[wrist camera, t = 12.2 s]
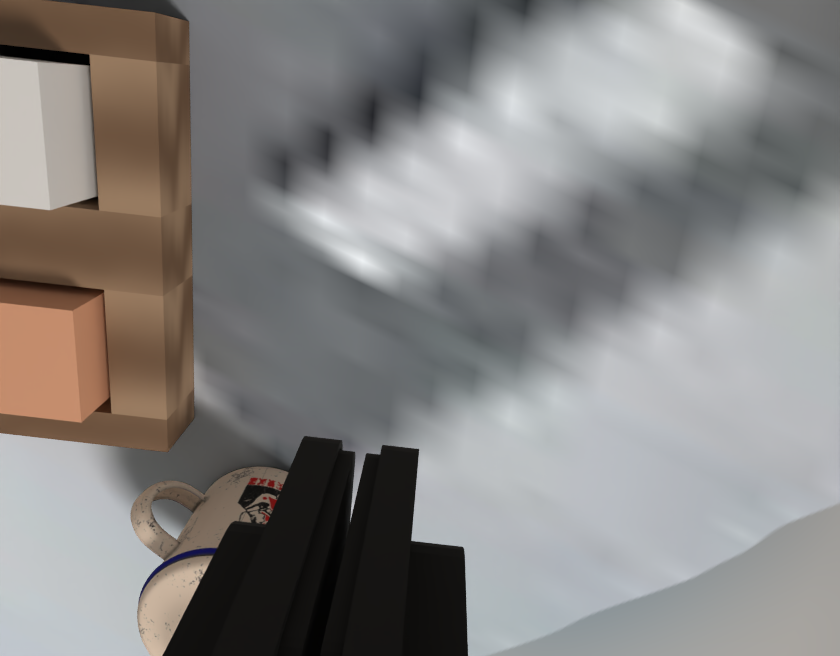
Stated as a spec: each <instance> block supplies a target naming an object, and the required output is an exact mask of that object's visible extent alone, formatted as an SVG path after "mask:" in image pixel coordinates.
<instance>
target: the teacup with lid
mask: <svg viewBox="0 0 840 656" xmlns="http://www.w3.org/2000/svg"><path fill="white" fill-rule="evenodd" d="M287 475H288V472H286V471H283V470H280V469H276V468H270V467H247V468H242V469H239V470H235V471H233V472H230V473H228V474H226V475H224V476H223V477H221V478H220V479H218V480H217V481H216V482H215V483H213V485H212V486H211V487H210V488H209V489H208V490H207V491H206V493H205V495H204V494H202V493H201V492H200V491H198V490H197V489H195V488H194V487H192V486H190V485H188V484H186V483H183V482H179V481H162V482H159V483H156V484H154V485H152V486H150V487H149V488H147V489H146V490H145V491H144V492H143V493H142V494H141V495H140V496H139V497H138V498H137V499H136V501H135V502H134V504H133V506H132V509H131V522H132V526H133V528H134V531H135V533H136V535H137V536H138V538H139V539H140V540H141V541H142V542H143V544H144V545H145V546H147V547H148V548H149V549H150V550H151V551H153V552H154V553H155V554H157V555H158V556H159V557H161V558H162V559H163V560H164V562H163V563H162V564H161V565H160V566H158V567H157V568H156V569H155V570H154V571H153V572H152V574H151V575H150V576H149V578H148V579H147V581H146V582H145V584H144V586H143V588H142V591H141V594H140V597H139V603H138V611H137V619H138V627H139V632H140V635H141V638H142V641H143V643H144V645H145V647H146V649H147V650H148V652H149V654H150V655H151V656H162V655H163V653H164V651H165V650H166V648H167V646H168V644H169V642H170V640H171V638H172V636H173V634H174V632H175V630H176V628H177V626H178V624H179V622H180V620H181V618H182V616H183V614H184V612H185V610H186V608H187V606H188V604H189V602H190V600H191V598H192V596H193V595H194V593H195V591H196V589H197V587H198V585H199V583H200V581H201V579H202V577H203V575H204V573H205V571H206V569H207V567H208V565H209V563H210V561H211V559H212V557H213V555H214V553H215V551H216V549H217V547H218V545H219V543H220V541H221V540H222V538H223V536H224V534H225V532H226V530H227V528H228V527H229V525H230V524H231V523H232V522H234V521H241V522H250V523H259V524H267V522H268V520H269V517H270V515H271V513H272V510H273V508H274V506H275V503H276V501H277V498H278V496H279V494H280V491H281V489H282V487H283V484H284V482H285V479H286V477H287ZM158 499H170V500H173V501H176V502H178V503H180V504H182V505H183V506H185V507H186V508H188V509H189V510H190V511H192V512H193V514H192V516H191V517H190V519H189V521H188V522H187V524H186V526H185V527H184V529H183V531H182V532H181V534H180V536H179V537H178V539H177V540H176V539H175V538H173V537H172V536H171V535H169V534H168V533H167V532H166V531H164V530H163V529H162V528H161V527H160V526H159V524H158V523H157V522H156V520H155V518H154V516H153V513H152V509H151V505H152V501H155V500H158Z"/></svg>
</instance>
